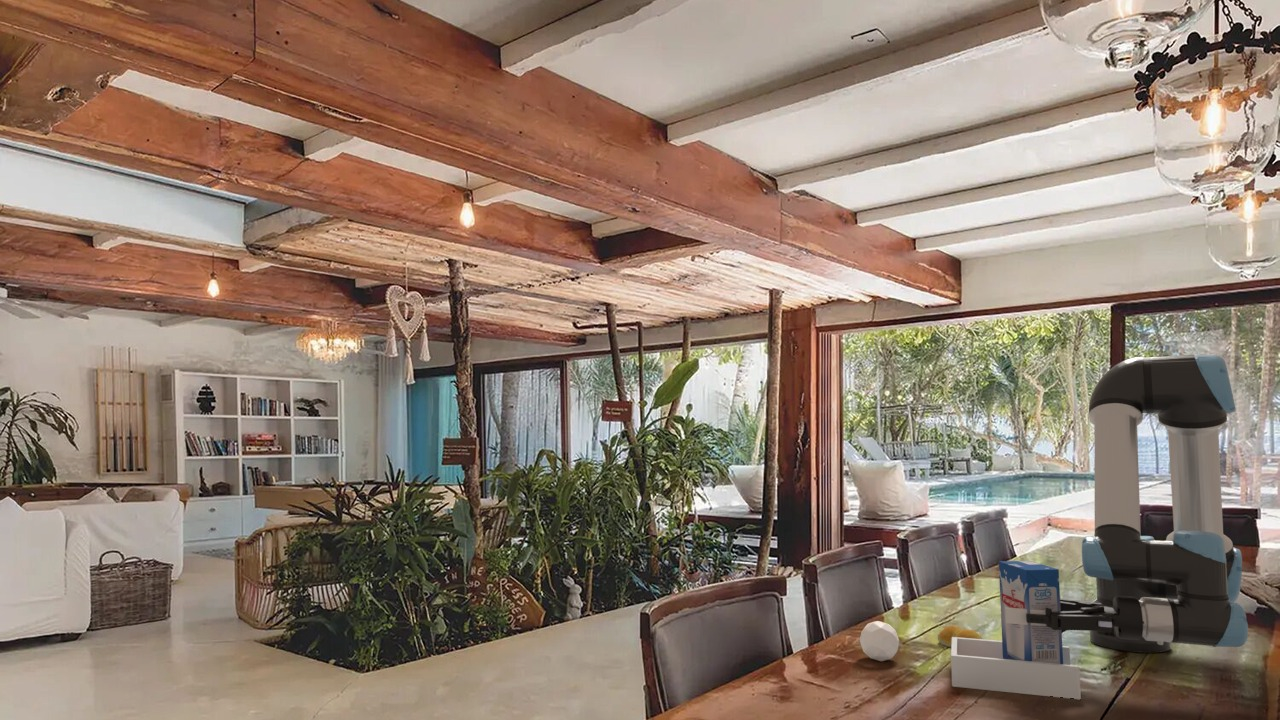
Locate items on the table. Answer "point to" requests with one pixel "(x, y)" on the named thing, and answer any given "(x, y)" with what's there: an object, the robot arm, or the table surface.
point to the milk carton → (1029, 591)
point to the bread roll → (955, 635)
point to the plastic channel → (1010, 671)
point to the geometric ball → (879, 641)
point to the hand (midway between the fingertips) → (1004, 609)
